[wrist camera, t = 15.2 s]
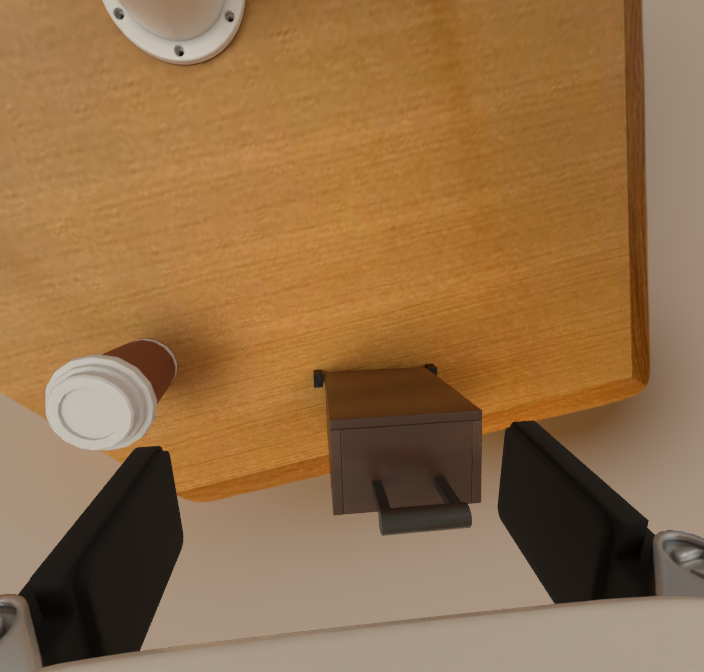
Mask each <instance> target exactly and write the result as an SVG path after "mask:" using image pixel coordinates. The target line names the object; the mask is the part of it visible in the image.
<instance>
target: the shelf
mask: <svg viewBox="0 0 704 672" xmlns="http://www.w3.org/2000/svg"><path fill="white" fill-rule="evenodd" d="M325 389H326V411H327V434H328V448H329V462H330V475H331V488H332V501H333V514H334V515H343V514H354V513H365V512H378V514H379V526H380V532H381V535H383V536H384V535H394V534H406V533H416V532H427V531H439V530H449V529H461V528H470V527H471V525H472V516H471V512H470V508H469V506H468V504H470V503H480V502H481V460H482V458H481V457H482V410H481V409H479V408H478V407H477V406H475V405H474V404H473V403H471V402H470V401H469V400H467V399H466V398H465V397H464V396H462V395H461V394H460V393H458V392H457V391H456V390H454V389H453V388H452V387H450V386H449V385H448V384H446V383H445V382H444V381H443V380H441V379H440V378H439V377H437V376H436V375H435V374H433V373H432V372H431V371H429V370H428V369H427V368H425V367H422V368H403V369H385V370H366V371H347V372H329V373H325Z"/></svg>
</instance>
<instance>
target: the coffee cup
mask: <svg viewBox="0 0 704 672" xmlns="http://www.w3.org/2000/svg"><path fill="white" fill-rule="evenodd" d="M176 374H177V362H176V359H175V356H174V354H173V353H172V352H171V351H170V350H169V348H168V347H167V346H165V345H164V344H162V343H160V342H158V341H156V340H151V339H145V338H144V339H139V340H134V341H132V342H130V343H128V344H125V345H123V346H121V347H118V348H116V349H114V350H111V351H109V352H107V353H104V354H102V355H101V354H93V355H88V356H83V357H77V358H75V359H73V360H71V361H70V362H68V363H67V364H65V365H64V366H62V367H61V368H59V369H58V370H56V371H55V372H54V374H53V376H52V378H51V380H50V381H49V383H48V385H47V387H46V398H45V407H46V417H47V419H48V421H49V423H50V426H51V428H52V430H54V431H55V432H56V433H57V434H58V435H59V436H60V437H61V438H62V439H63V440H64V441H66V442H68V443H70V444H72V445H74V446H76V447H78V448H82V449H89V450H106V451H108V450H113V449H118V448H123V447H127V446H129V445H131V444H132V443H134V442H135V441H137V440H138V439H140V438H142V437H143V436H144V435H145V434H146V432H147V431H148V429H149V428H150V426H151V425H152V423H153V421H154V420H155V418H156V408H157V404H158V402H159V400H160V399H161V397H162V396H163V394H164V393H165V391H166V390H167V388H168V387H169V386H170V384H171V383H172V382H173V380H174V378H175V377H176Z"/></svg>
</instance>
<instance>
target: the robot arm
mask: <svg viewBox="0 0 704 672" xmlns="http://www.w3.org/2000/svg"><path fill="white" fill-rule="evenodd" d="M102 1H103V3H104V5H105V8H106V10H107V11H108V13H109V14H110V16H111V18H112V19H113V21H114V23H115V24H116V25H117V26H118V27H119V29H120V30H121V31H122V32H123V33H124V35H125V36H126V37H127V38H128V39H129V40H130V41H131V42H132V43H133V44H134V45H136V46H137V47H138V48H140V49H141V50H143V51H144V52H145V53H147V54H148V55H150V56H152V57H155V58H157V59H159V60H161V61H164V62H168V63H172V64H181V65H190V64H197V63H201V62H204V61H206V60H209V59H211V58H213V57H214V56H216V55H217V54H219V53H220V52H222V51H223V50H224V49H225V48H226V46H227V45H228V44H229V43H230V42H231V41H232V39H233V38H234V36H235V34H236V33H237V31H238V29H239V26H240V23H241V21H242V18H243V13H244V8H245V0H102ZM122 16H124V18H123V19H121V17H122ZM230 19H233V21H232V22H229V20H230ZM181 52H184V54H183V56H180V53H181ZM498 513H499V516H500V519H501V521H502V522H503V524H504V525H505V527H506V528H507V530H508V531H509V533H510V535H511V536H512V538H513V539H514V541H515V543H516V544H517V546H518V547H519V549H520V550H521V552H522V554H523V555H524V557H525V558H526V560H527V561H528V563H529V564H530V566H531V568H532V569H533V570H534V572H535V574H536V575H537V577H538V578H539V580H540V582H541V583H542V585H543V586H544V588H545V589H546V591H547V592H548V594H549V596H550V597H551V599H552V600H553V602H554V603H555V604H551V605H540V606H531V607H522V608H512V609H502V610H493V611H483V612H475V613H474V612H473V613H464V614H455V615H445V616H436V617H428V618H418V619H409V620H400V621H391V622H382V623H373V624H364V625H355V626H346V627H337V628H328V629H319V630H310V631H302V632H293V633H286V634H277V635H268V636H260V637H251V638H242V639H234V640H226V641H217V642H208V643H200V644H191V645H183V646H175V647H168V648H160V649H152V650H144V651H140V649H141V646H142V644H143V642H144V639H145V637H146V634H147V632H148V629H149V626H150V624H151V622H152V620H153V617H154V615H155V612H156V610H157V607H158V605H159V603H160V600H161V598H162V595H163V593H164V590H165V588H166V585H167V583H168V580H169V578H170V576H171V573H172V571H173V568H174V566H175V563H176V561H177V559H178V556H179V554H180V551H181V549H182V545H183V530H182V524H181V518H180V512H179V506H178V500H177V494H176V488H175V482H174V476H173V471H172V465H171V459H170V454H169V452H168V451H163V450H162V448H161V447H160V446H152V447H138V448H135V449H134V450H133V452H132V453H131V454H130V455H129V456H128V458H127V459H126V460H125V461H124V463H123V464H122V465H121V467H120V468H119V469H118V470H117V471H116V473H115V474H114V475H113V476H112V478H111V479H110V480H109V481H108V483H107V484H106V485H105V486H104V487H103V489H102V490H101V491H100V492H99V494H98V495H97V496H96V497H95V499H94V500H93V501H92V502H91V504H90V505H89V506H88V507H87V509H86V510H85V511H84V512H83V513H82V515H81V516H80V517H79V518H78V520H77V521H76V522H75V524H74V525H73V526H72V527H71V528H70V530H69V531H68V532H67V533H66V535H65V536H64V537H63V538H62V540H61V541H60V542H59V543H58V544H57V546H56V547H55V548H54V550H53V551H52V552H51V553H50V554H49V556H48V557H47V558H46V559H45V561H44V562H43V563H42V564H41V566H40V567H39V568H38V569H37V570H36V572H35V573H34V574H33V575H32V577H31V578H30V581H29V582H28V583H27V584H26V585H25V587H24V588H23V589H22V590H21V592H20V593H19V594H18V595H16V594H4V595H0V672H704V538H701V537H699V536H696V535H694V534H690V533H686V532H682V531H673V530H667V531H661V532H659V533H658V534H656V535H655V534H653V533H652V532H651V531H650V530H649V529H648V528H647V526H648V520H647V519H646V518H645V517H644V516H643V515H641V514H640V513H639V512H638V511H637V510H636V509H635V508H634V507H632V506H631V505H630V504H629V503H628V502H627V501H626V500H624V499H623V498H622V497H621V496H620V495H619V494H618V493H616V492H615V491H614V490H613V489H611V488H610V487H609V486H608V485H607V484H606V483H605V482H604V481H603V480H601V479H600V478H599V477H598V476H597V475H596V474H595V473H593V472H592V471H591V470H590V469H589V468H588V467H586V465H584V464H583V463H582V462H581V461H580V460H579V459H578V458H576V457H575V456H574V455H573V454H572V453H571V452H570V451H568V450H567V449H566V448H565V447H564V446H563V445H561V444H560V443H559V442H558V441H557V440H556V439H555V438H554V437H552V436H551V435H550V434H549V433H548V432H547V431H546V430H544V429H543V428H542V427H541V426H540V425H539V424H538V423H536V422H535V421H521V422H513V423H512V424H511V426H510V427H508V428H506V430H505V437H504V447H503V457H502V467H501V478H500V488H499V498H498Z"/></svg>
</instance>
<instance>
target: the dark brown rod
mask: <svg viewBox="0 0 704 672" xmlns="http://www.w3.org/2000/svg"><path fill="white" fill-rule="evenodd" d="M425 368H427V369H428V370H429V371H431V372H432V373H433V374H435V375H436V376H437V368H436V367H435V365H434V364H426V365H425ZM314 387H315V388H316V387H323V379H322V370H314Z"/></svg>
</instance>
